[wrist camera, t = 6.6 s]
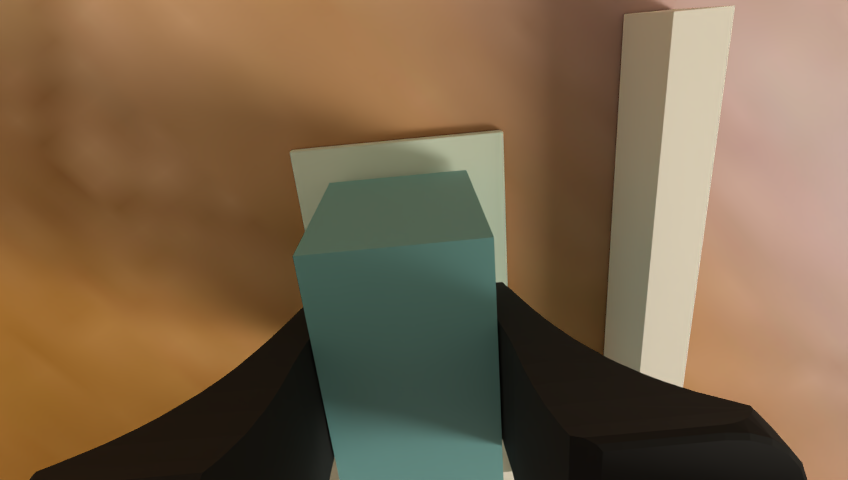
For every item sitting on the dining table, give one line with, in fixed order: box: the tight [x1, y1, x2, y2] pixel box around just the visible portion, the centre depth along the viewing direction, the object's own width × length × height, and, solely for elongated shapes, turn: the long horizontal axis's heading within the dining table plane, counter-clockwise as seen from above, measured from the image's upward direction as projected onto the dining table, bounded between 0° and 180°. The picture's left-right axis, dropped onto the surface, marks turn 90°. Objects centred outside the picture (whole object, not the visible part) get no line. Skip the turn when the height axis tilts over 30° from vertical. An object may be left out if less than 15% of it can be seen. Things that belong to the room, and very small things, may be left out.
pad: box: [290, 130, 508, 287], centre depth 15 cm, size 8×6×1 cm
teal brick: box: [293, 170, 503, 480], centre depth 12 cm, size 6×4×4 cm, turn 5°
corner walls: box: [330, 6, 735, 480], centre depth 14 cm, size 13×10×2 cm
